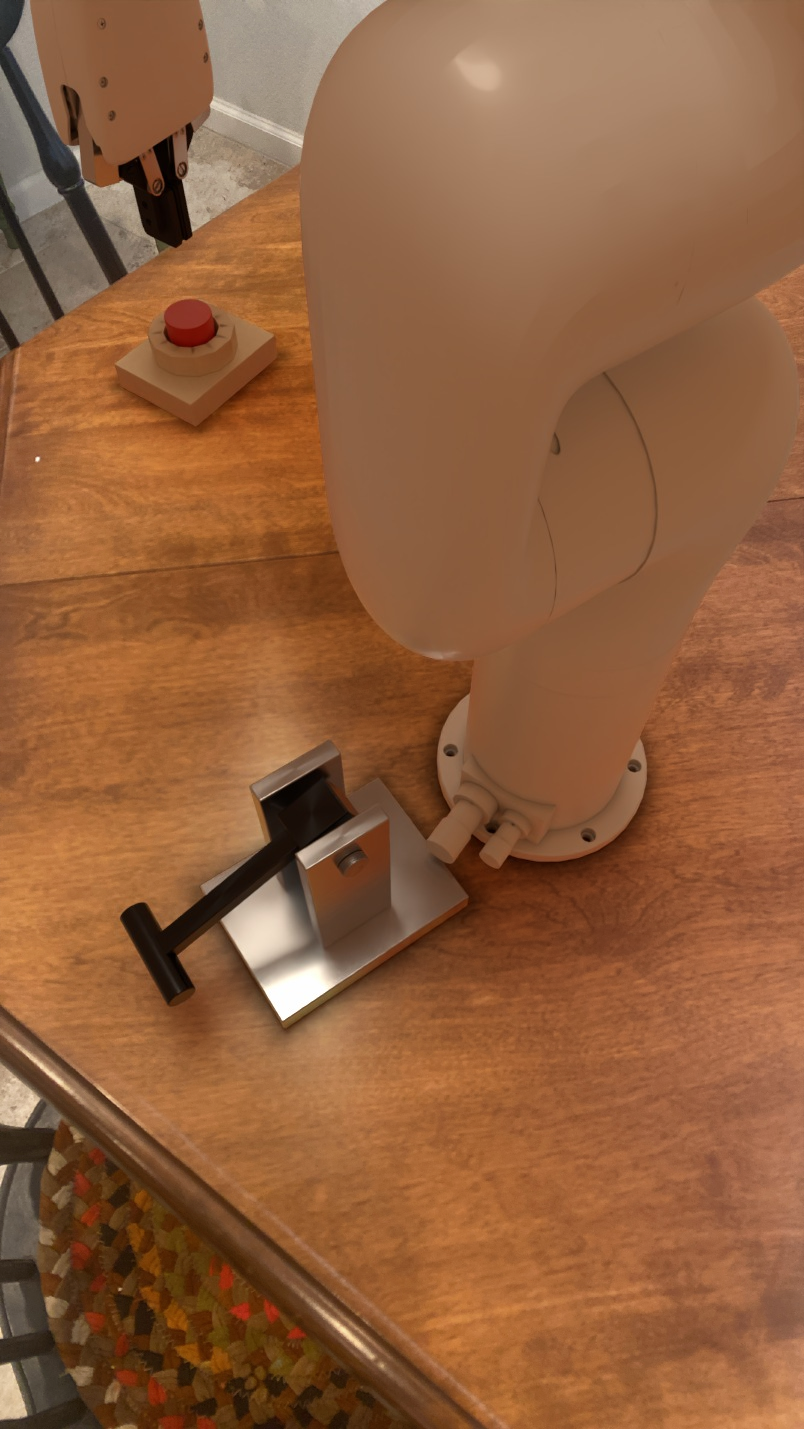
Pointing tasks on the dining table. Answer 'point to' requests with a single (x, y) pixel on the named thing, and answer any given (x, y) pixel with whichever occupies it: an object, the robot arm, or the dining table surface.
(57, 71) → the robot arm
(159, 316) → the button block
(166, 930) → the lever
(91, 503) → the dining table surface
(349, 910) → the bracket
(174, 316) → the button
